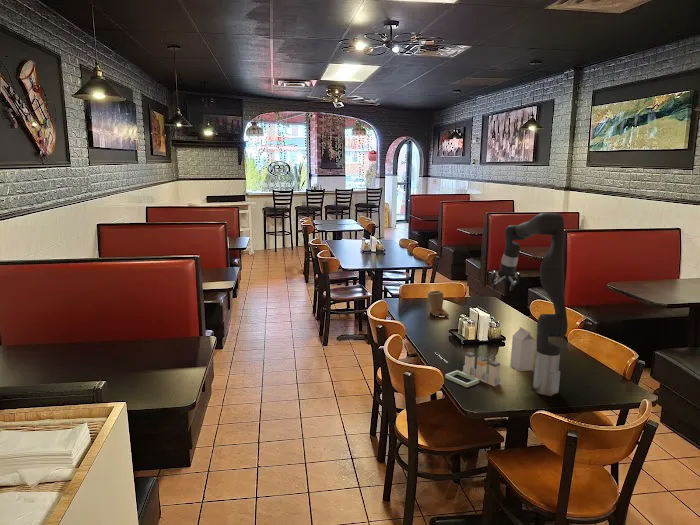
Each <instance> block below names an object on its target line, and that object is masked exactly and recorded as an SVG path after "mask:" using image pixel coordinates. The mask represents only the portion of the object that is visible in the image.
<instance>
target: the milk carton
mask: <svg viewBox="0 0 700 525" xmlns="http://www.w3.org/2000/svg"><path fill="white" fill-rule="evenodd" d="M531 334H532V333H531V332H530V331H529V330H527V329H525V328H523V327H521V326H519V329H518V330H517V331H516V332H515V333H514V334H513V335H512V338H511V339H512V340H511V341H512V342H511V349H510V350H511V351H510V352H511V353H510V364H509V366H510V367H511V368H513V369H514V370H516V371H518V372H528V371H533V366H534V364H533V363H534V353H535V342H536V340H535V338H534V337H533V336H532V335H531Z"/></svg>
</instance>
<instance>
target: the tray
mask: <svg viewBox="0 0 700 525" xmlns="http://www.w3.org/2000/svg"><path fill="white" fill-rule="evenodd" d="M457 375H458V376H460V377H462V378H465V379H466V380H469V382H465V381H463V380H461V379H459V378H456V377H455V376H457ZM444 378H445V379H446V380H448V381H451V382H453V383H456V384H458V385H461V386H463V387H464V388H469V387H472V386H475V385H477V384H479V383H480V380H479V379H477V378H475V377H472V376H470V375H468V374H465V373H463V371H460V370H458V369H456V370H454V371H451V372H449V373H445V374H444Z"/></svg>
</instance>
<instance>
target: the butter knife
mask: <svg viewBox="0 0 700 525" xmlns="http://www.w3.org/2000/svg"><path fill="white" fill-rule="evenodd" d="M434 353H435V354H436V353H437V352H434ZM435 354H434V355H435ZM438 354H439V353H438ZM438 354H436V355H438ZM436 355H435V356H436ZM440 355H441V354H439V355H438V356H439V357H440V358H439V357H438V356H437V357H438V358H439V359H441V360H442V359H443V358H444V357H443V356H442V355H441V356H442V357H443V358H442V357H441V356H440ZM443 360H444V361H443ZM443 360H442V361H443V362H445V363H447V364H448V363H449V361H447V360H446V359H445V358H444V359H443Z"/></svg>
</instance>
